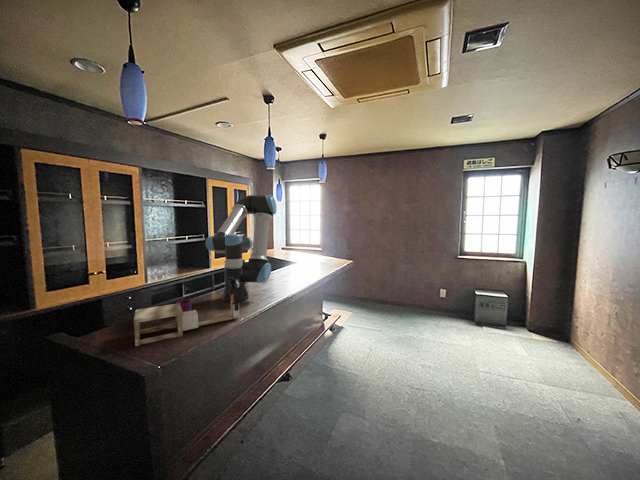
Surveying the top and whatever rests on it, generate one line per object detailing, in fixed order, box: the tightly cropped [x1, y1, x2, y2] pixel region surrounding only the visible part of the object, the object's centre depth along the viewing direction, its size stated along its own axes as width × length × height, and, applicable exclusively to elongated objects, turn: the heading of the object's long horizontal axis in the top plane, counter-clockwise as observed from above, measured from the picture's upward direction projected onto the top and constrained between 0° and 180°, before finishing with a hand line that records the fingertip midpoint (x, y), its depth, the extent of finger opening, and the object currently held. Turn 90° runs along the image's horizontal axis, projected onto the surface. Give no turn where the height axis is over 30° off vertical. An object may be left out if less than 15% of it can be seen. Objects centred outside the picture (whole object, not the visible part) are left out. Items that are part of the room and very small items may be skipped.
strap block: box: [182, 294, 240, 332], centre depth 115 cm, size 24×6×11 cm, turn 124°
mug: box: [175, 299, 193, 312], centre depth 125 cm, size 7×10×7 cm
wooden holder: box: [133, 303, 184, 347], centre depth 105 cm, size 16×13×10 cm
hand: (235, 315), depth 122 cm, fingers closed on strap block, 3 cm apart
